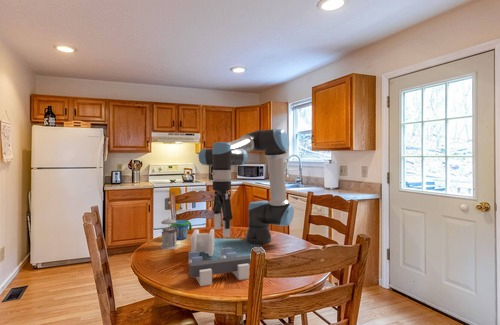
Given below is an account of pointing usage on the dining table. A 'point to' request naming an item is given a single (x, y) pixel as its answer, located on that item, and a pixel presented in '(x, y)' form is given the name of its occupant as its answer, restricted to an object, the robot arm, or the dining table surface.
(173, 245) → the french press
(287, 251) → the dining table surface
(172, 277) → the dining table surface
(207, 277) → the white notched holder
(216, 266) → the dark gray bar
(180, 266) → the dining table surface
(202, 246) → the cable organizer
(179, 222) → the snack cup
